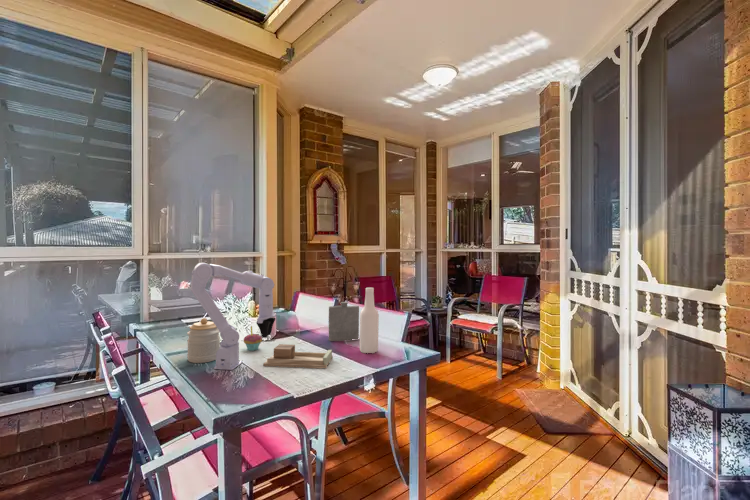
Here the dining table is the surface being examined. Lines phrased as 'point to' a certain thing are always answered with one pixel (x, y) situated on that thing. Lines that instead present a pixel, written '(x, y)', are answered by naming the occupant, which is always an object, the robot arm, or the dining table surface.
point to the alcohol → (369, 324)
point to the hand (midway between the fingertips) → (266, 336)
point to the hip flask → (343, 322)
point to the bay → (302, 360)
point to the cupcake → (252, 341)
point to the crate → (284, 351)
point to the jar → (203, 342)
